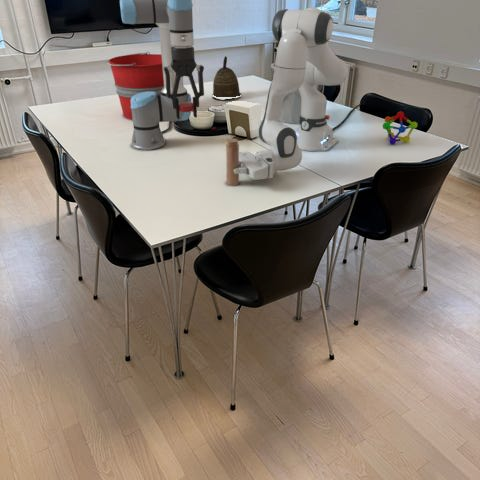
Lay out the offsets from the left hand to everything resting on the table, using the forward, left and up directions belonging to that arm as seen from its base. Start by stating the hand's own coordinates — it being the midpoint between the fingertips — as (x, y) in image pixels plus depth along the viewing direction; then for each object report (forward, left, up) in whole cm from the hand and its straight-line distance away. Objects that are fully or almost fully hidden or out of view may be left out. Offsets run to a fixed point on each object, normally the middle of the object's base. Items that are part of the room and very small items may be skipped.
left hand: (186, 116), depth 157 cm
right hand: (-2, +15, -20) cm, 25 cm away
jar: (-3, +16, -26) cm, 31 cm away
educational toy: (-58, +87, -26) cm, 108 cm away
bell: (-131, -5, -26) cm, 134 cm away
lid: (0, 0, +4) cm, 4 cm away
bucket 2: (-90, +39, -26) cm, 102 cm away
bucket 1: (-88, -45, -26) cm, 102 cm away
